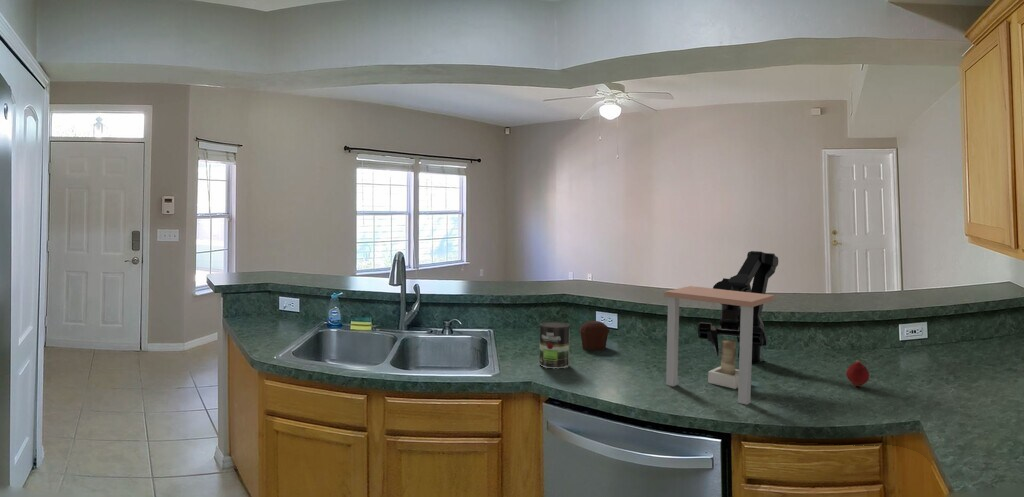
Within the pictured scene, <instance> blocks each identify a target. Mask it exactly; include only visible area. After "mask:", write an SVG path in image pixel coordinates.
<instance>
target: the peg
mask: <svg viewBox="0 0 1024 497" xmlns="http://www.w3.org/2000/svg"><path fill="white" fill-rule="evenodd" d="M736 346H737V341H736V340H734V339H728V338H727V339H722V340H721V354H720V355H721V356H720V357H721V359H720V360H721V361H720V366H721V373H723V374H728V375H733V376H734V375H735V369H736V355H737V354H736V351H737V350H736V349H737V348H736Z"/></svg>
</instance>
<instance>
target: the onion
mask: <svg viewBox="0 0 1024 497" xmlns="http://www.w3.org/2000/svg"><path fill="white" fill-rule="evenodd" d="M854 361H855V363H854V362H853V363H852V364H850V365H849V367H848V368H847V369H846V377H847V380H848V381H849V382H850V383H852V384H853V386H855V385H856V386H859V387H860V386H863V385H865V384H866V383H867V382H868V381H869V380H870V373H869V370H868V368H867V367H866V366H865V365H864V364H862V362H860V360H857V359H856V360H854ZM856 386H855V387H856Z"/></svg>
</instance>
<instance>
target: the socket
mask: <svg viewBox="0 0 1024 497" xmlns="http://www.w3.org/2000/svg"><path fill="white" fill-rule="evenodd" d="M707 373H708V376H707V378H708V379H707V383H708V384H712V385H717V386H722V387H725V388H729V389H734V390H736V389H738V384H739V368H738V369H737V368H735V375H734V376H733V375H728V374H723V373H721V365H720V366H718V367H715V368H713V369H711V370H709V371H708V372H707Z"/></svg>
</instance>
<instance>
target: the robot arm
mask: <svg viewBox="0 0 1024 497" xmlns="http://www.w3.org/2000/svg"><path fill="white" fill-rule="evenodd" d="M778 265H779V257H778V256H776V254H775V253H768V252H763V251H758V250H751V251H748V252H747V255H746V259H745V260H744V262H743V263H742V266H740V269H739V270H738V272H737V274H736V275H733V276H731V277H729V278H726V277H725V278H722V280H721V281H718V282H716V283H715V284H714V285H713V287H712V288H713V289H722V290H731V291H741V292H750V293H759V294H766V293H767V286H768V282H769V279H770V278H771V277H772V276H773V275H774V274H775V272H776V269H777V267H778ZM751 282H752V285H751ZM719 304H720V305H721V311H720V318H719V327H717V326H714V325H712V323H711V322H699V323H698V324H697V337H698V339H701V340H707V341H708V342H710V343H711V344H712V346H713V348H714V351H715V354H716V356H717V357H719V355H720V352H719V340H718V338H719V337H718V335H721V336H729V337H736V340H737V341H736V342H737V343H740V319H741V306H737V305H729V304H721V303H719ZM763 308H764V304H761V305H758V306H754V307H753V334H752V364H760V363H762V362H763V361H765V358H763V357H761V355H762V354H761V353H762V350H761V349H762V347H764V346H765V347H766V346H767V345H768V344H767V343H768V336H767V334H766V333H767V332H766V331H765V324H764V322H763V320H762V313H763ZM739 352H740V344H739V346H738V353H737V359H739Z"/></svg>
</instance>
